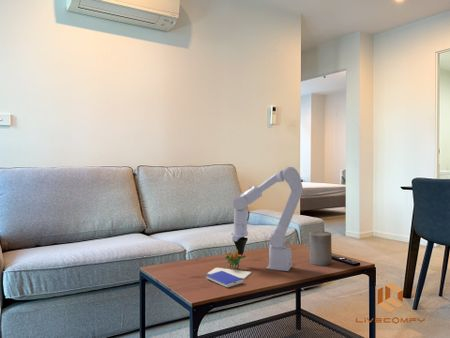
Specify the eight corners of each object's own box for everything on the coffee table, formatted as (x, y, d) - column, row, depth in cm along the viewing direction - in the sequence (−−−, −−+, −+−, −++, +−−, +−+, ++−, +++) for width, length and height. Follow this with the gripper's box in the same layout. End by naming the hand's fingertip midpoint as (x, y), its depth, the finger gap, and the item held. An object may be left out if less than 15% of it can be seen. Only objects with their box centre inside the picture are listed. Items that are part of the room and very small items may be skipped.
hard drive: (206, 274, 141) (226, 283, 131) (222, 270, 146) (243, 278, 136) (206, 278, 141) (226, 287, 131) (222, 274, 146) (243, 282, 136)
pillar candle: (327, 260, 170) (327, 228, 170) (334, 265, 160) (334, 231, 160) (307, 260, 170) (306, 228, 169) (312, 266, 160) (312, 232, 160)
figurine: (222, 269, 152) (223, 249, 153) (243, 266, 160) (244, 248, 161) (226, 270, 150) (227, 250, 151) (248, 268, 157) (249, 249, 158)
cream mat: (251, 272, 150) (251, 271, 150) (244, 279, 141) (244, 278, 141) (216, 268, 156) (216, 267, 156) (207, 274, 147) (207, 273, 147)
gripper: (237, 220, 169) (237, 249, 169) (225, 225, 155) (225, 257, 155) (252, 221, 166) (252, 251, 166) (241, 226, 152) (241, 258, 153)
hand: (240, 254), depth 160 cm, fingers closed
